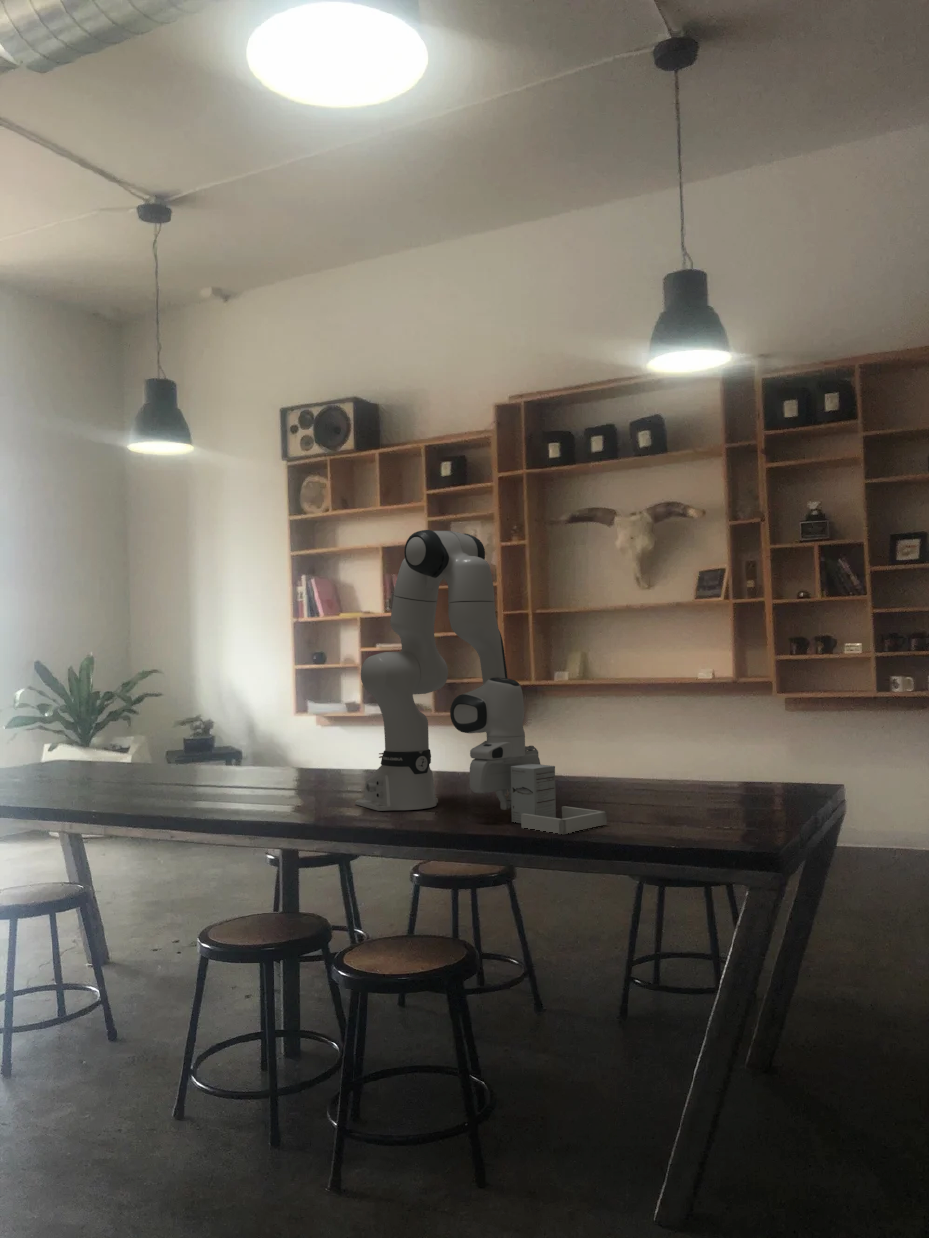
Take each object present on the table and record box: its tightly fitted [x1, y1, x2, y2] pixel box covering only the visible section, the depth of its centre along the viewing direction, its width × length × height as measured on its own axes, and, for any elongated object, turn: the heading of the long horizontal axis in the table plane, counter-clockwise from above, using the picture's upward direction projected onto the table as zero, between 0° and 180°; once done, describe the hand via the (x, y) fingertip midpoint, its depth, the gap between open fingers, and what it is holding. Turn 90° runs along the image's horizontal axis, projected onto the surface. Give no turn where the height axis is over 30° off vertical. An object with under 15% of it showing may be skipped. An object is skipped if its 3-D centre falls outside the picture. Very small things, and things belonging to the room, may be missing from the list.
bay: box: [520, 805, 608, 836], centre depth 204 cm, size 12×14×3 cm
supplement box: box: [510, 763, 557, 824], centre depth 211 cm, size 7×7×13 cm
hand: (507, 808), depth 217 cm, fingers closed
